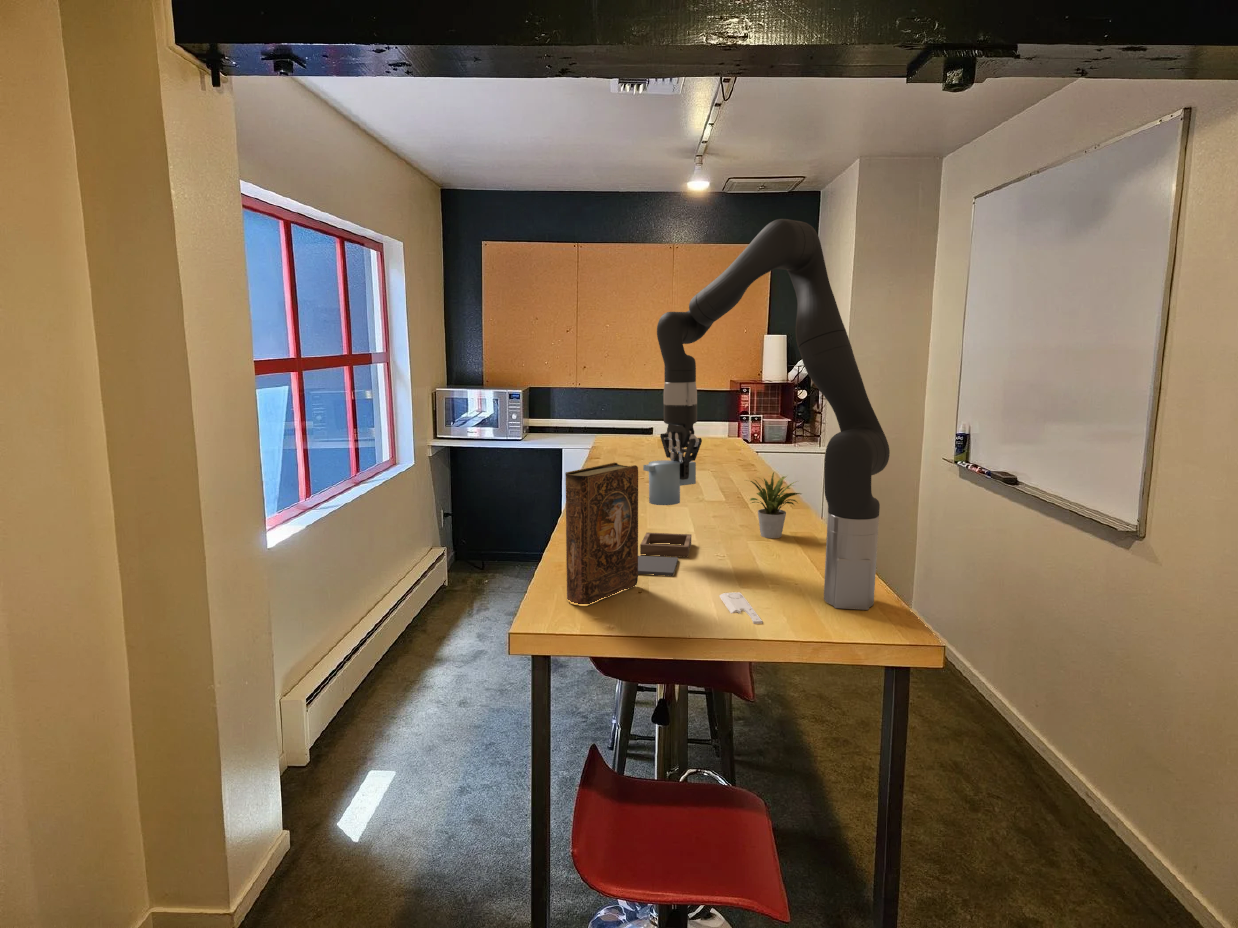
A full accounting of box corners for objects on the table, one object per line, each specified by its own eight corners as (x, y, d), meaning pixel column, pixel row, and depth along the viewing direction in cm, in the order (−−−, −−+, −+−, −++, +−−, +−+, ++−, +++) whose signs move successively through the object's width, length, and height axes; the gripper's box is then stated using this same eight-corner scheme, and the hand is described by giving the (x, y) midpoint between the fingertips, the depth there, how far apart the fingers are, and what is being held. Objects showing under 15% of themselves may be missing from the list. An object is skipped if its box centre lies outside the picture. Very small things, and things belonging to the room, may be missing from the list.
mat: (673, 576, 159) (673, 572, 159) (622, 573, 161) (622, 569, 161) (678, 560, 170) (678, 557, 170) (629, 558, 172) (629, 555, 172)
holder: (687, 557, 173) (688, 546, 172) (640, 555, 174) (640, 544, 174) (691, 544, 183) (691, 534, 183) (646, 542, 185) (646, 532, 185)
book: (583, 608, 141) (582, 476, 137) (562, 601, 144) (561, 473, 140) (638, 585, 153) (638, 464, 149) (617, 580, 157) (617, 461, 153)
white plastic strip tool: (734, 626, 133) (734, 620, 133) (716, 597, 148) (716, 592, 148) (762, 625, 134) (762, 619, 133) (741, 596, 148) (741, 591, 148)
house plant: (753, 545, 182) (755, 479, 179) (730, 531, 195) (731, 469, 192) (806, 541, 186) (809, 476, 183) (780, 527, 199) (782, 466, 196)
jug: (655, 507, 165) (655, 466, 164) (638, 501, 171) (637, 462, 170) (702, 500, 172) (702, 461, 170) (684, 495, 178) (684, 457, 176)
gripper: (649, 401, 173) (650, 475, 176) (684, 405, 162) (684, 484, 164) (676, 399, 177) (676, 472, 180) (712, 403, 165) (712, 480, 168)
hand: (680, 478), depth 172 cm, fingers closed on jug
